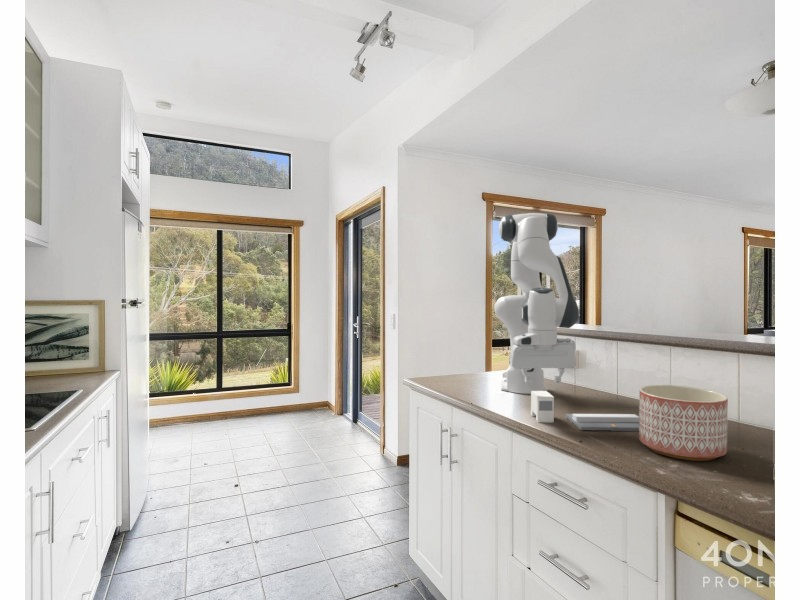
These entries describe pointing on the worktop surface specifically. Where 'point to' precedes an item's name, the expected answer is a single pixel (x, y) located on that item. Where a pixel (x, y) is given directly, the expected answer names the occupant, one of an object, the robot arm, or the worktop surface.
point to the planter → (683, 421)
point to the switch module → (542, 406)
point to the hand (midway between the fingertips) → (542, 382)
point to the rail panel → (606, 425)
